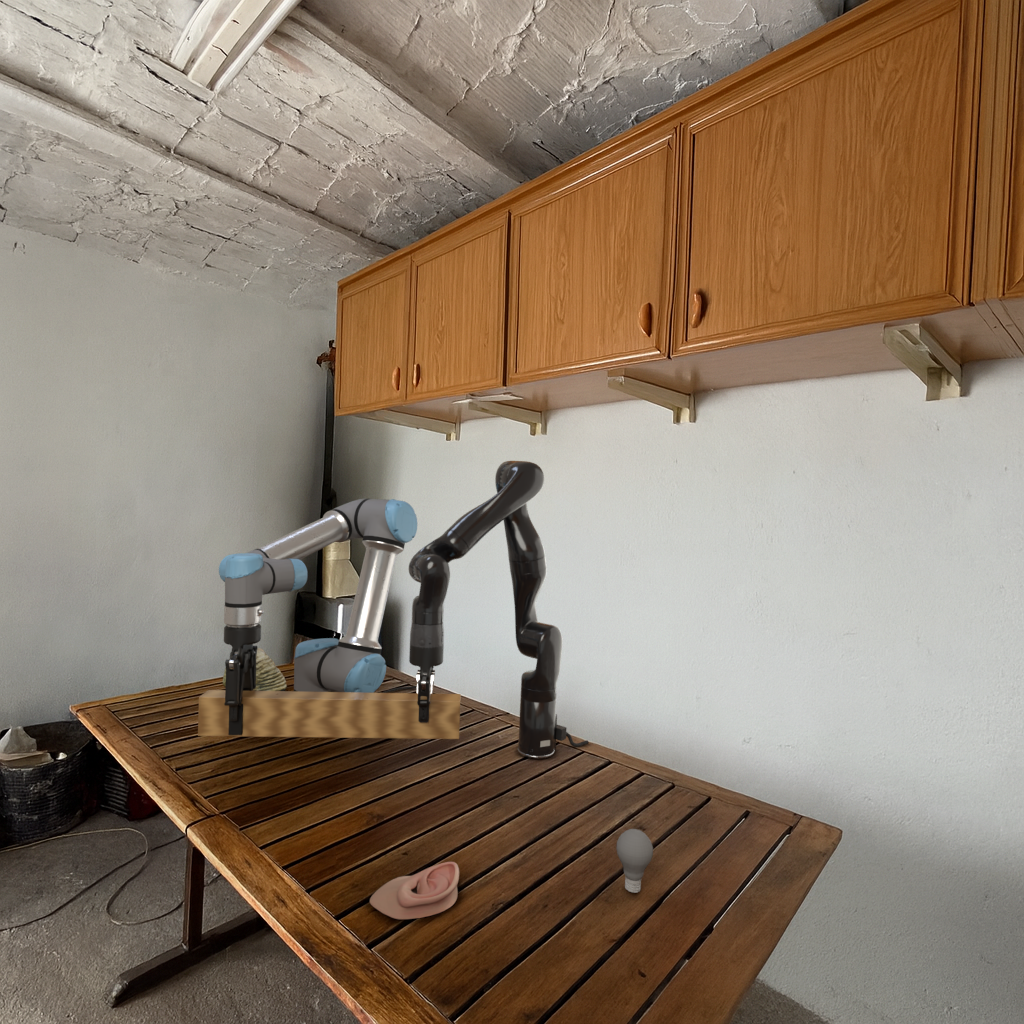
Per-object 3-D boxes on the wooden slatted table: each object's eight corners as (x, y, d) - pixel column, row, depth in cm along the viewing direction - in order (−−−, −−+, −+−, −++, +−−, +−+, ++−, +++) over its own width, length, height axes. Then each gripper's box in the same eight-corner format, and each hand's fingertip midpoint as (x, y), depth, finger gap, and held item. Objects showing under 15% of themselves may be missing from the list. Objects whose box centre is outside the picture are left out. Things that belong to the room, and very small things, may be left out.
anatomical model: (361, 887, 97) (391, 847, 108) (360, 913, 97) (390, 870, 108) (444, 902, 94) (465, 860, 105) (443, 928, 94) (464, 883, 106)
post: (197, 736, 136) (198, 697, 136) (207, 727, 141) (208, 689, 141) (458, 739, 140) (460, 701, 140) (459, 730, 145) (460, 694, 145)
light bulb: (610, 879, 108) (613, 822, 108) (644, 879, 109) (647, 822, 109) (619, 902, 102) (622, 840, 102) (655, 901, 103) (658, 840, 103)
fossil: (218, 695, 195) (220, 647, 195) (278, 685, 208) (279, 640, 207) (228, 703, 189) (230, 653, 188) (289, 692, 201) (290, 645, 201)
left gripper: (246, 633, 130) (243, 745, 131) (272, 616, 148) (270, 714, 149) (208, 633, 129) (206, 745, 130) (239, 615, 147) (237, 714, 148)
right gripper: (442, 650, 134) (439, 729, 135) (445, 635, 149) (442, 706, 149) (406, 649, 134) (404, 729, 134) (412, 634, 148) (410, 706, 149)
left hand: (240, 729), depth 139 cm, fingers closed on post, 5 cm apart
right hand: (424, 717), depth 142 cm, fingers closed on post, 5 cm apart
